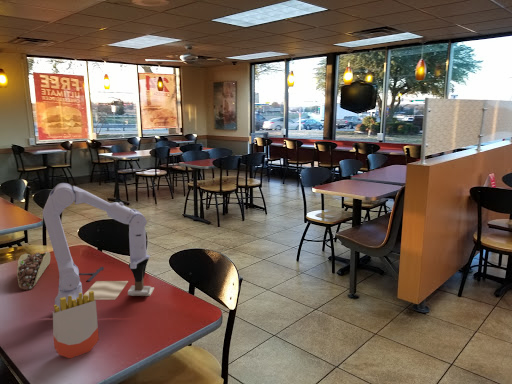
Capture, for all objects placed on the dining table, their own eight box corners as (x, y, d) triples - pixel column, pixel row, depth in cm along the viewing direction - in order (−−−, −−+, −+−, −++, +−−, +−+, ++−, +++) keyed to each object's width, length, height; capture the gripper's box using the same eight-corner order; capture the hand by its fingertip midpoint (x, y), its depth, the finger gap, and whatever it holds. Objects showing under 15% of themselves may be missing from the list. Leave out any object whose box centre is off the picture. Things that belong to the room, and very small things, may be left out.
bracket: (70, 270, 173) (69, 264, 173) (104, 270, 173) (103, 264, 173) (53, 284, 159) (52, 277, 159) (90, 284, 159) (89, 278, 159)
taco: (56, 264, 179) (53, 243, 177) (40, 289, 153) (37, 265, 151) (32, 266, 176) (29, 244, 174) (12, 292, 151) (9, 267, 149)
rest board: (115, 300, 144) (115, 299, 144) (79, 300, 144) (79, 299, 144) (128, 282, 160) (128, 281, 160) (96, 282, 160) (96, 281, 159)
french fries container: (55, 355, 112) (48, 296, 108) (93, 340, 119) (89, 284, 115) (59, 362, 108) (53, 302, 105) (99, 347, 116) (94, 290, 112)
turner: (147, 295, 144) (146, 275, 143) (127, 295, 144) (127, 274, 142) (150, 289, 149) (150, 269, 148) (131, 289, 149) (131, 269, 147)
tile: (150, 294, 147) (154, 287, 153) (131, 294, 147) (135, 287, 153) (150, 298, 147) (154, 290, 153) (131, 298, 147) (136, 291, 153)
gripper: (143, 251, 136) (145, 288, 139) (153, 238, 150) (155, 271, 153) (123, 251, 136) (125, 288, 138) (135, 238, 150) (137, 271, 153)
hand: (139, 279), depth 146 cm, fingers closed on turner, 2 cm apart
